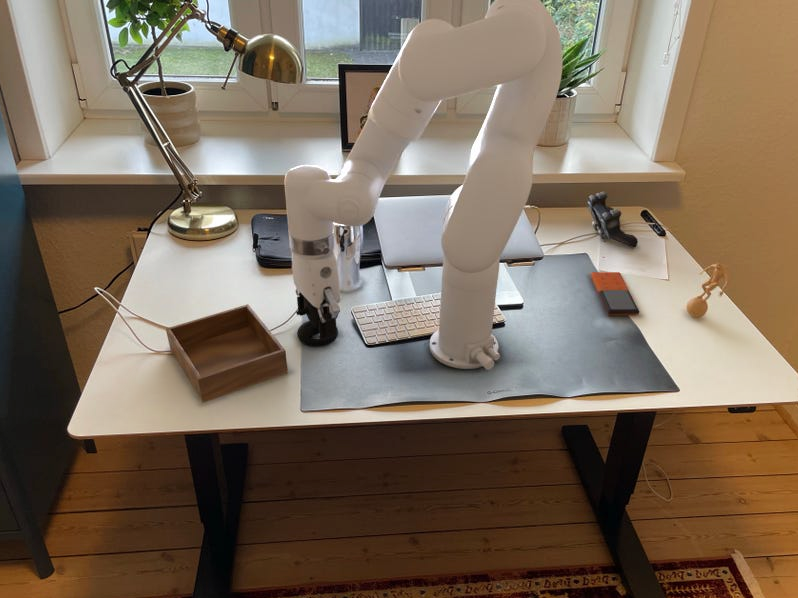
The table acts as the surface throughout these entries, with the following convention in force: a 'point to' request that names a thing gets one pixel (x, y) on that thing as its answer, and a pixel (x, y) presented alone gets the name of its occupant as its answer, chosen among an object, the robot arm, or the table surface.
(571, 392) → the table surface
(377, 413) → the table surface
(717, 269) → the figurine
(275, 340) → the wooden box
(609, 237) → the dark grey mechanical bracket
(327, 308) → the webcam
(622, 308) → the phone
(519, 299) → the table surface
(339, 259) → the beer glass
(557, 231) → the table surface
